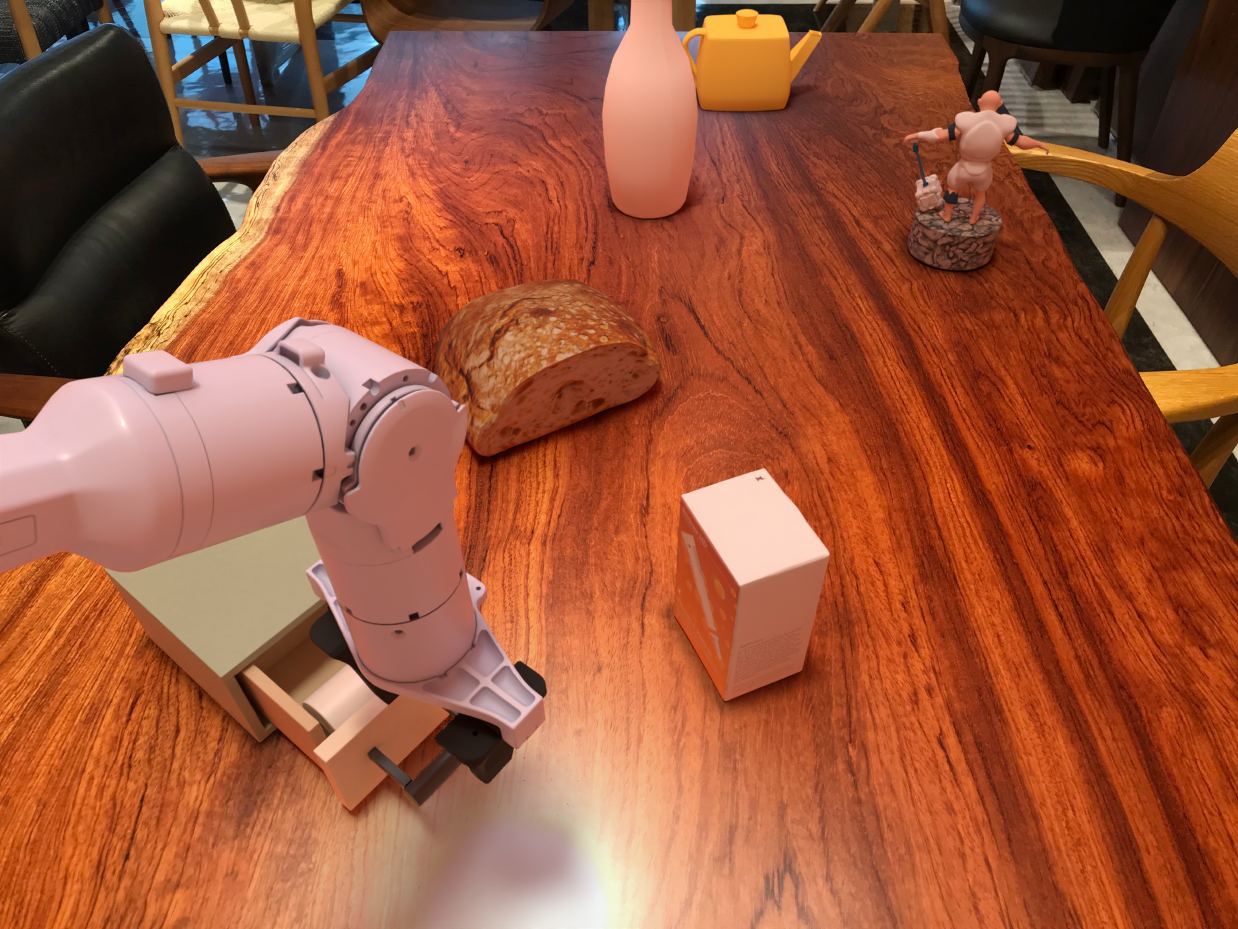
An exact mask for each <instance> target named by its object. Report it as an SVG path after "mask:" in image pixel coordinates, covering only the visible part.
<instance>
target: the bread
mask: <svg viewBox="0 0 1238 929" xmlns="http://www.w3.org/2000/svg"><path fill="white" fill-rule="evenodd" d="M661 369H662V363H661V360H660V357H659V354H658V353H657V351H656V348H655V346H654V343H653V341H652V338H651V336H650V335H649V333H647V331H646V330H645V328H644V326H643V325H642V323H641V322H640V321H638V320H637V319H636V318H635V317H634V316H632V314H631V313H630V312H628V311H627V310H626V309H624V308H623V307H622V306H621V305H619V304H618V303H617V302H616V301H615V300H613V299H612V298H610V297H609V296H607V295H606V294H604V293H603V292H601V291H600V290H598V289H597V288H595V287H594V286H592V285H590V284H587V283H585V282H582V281H580V280H577V279H571V278H552V279H551V278H549V279H548V278H547V279H537V280H533V281H528V282H524V283H521V284H518V285H514V286H510V287H505V288H502V289H498V290H495V291H492V292H489V293H486V294H484V295H480V296H478V297H476V298H475V299H472V300H470V301H468V302H467V303H466V304H464V305H463V306H461V307H460V308H459V309H458V310H456V311H455V312H454V313H453V315H452V316H451V317H450V318H449V320H448V321H447V322H446V323H445V324H444V325H443V327H442V328H441V329H440V332H439V335H438V340H437V343H436V348H435V359H434V369H433V371H434V372H433V373H434V374H436V375H438V376H439V377H440V378H441V379H442V381H443V382H444V383H445V384H446V386H447V388H448V390H449V392H450V395H451V399H452V400H453V401H455V402H457V403H459V407H460V406H461V405H463V404H464V405H466V406H467V413H468V423H467V432H466V437H465V440H466V441H467V443H468V444H469V445H470V447H471V448H472V449H473V451H474V452H475V453H477V454H478V455H480V456H483V457H491V456H494V455H497V454H499V453H501V452H504V451H506V450H509V449H511V448H514V447H516V446H518V445H522V444H524V443H525V444H526V443H528V442H530V441H532V440H535V439H538V438H540V437H542V436H545V435H547V434H550V433H552V432H554V431H555V432H556V431H558V430H561V429H562V428H565V427H568V426H570V425H572V424H575V423H577V422H578V423H579V422H580V421H582V420H585V419H587V418H590V417H592V416H593V415H596V414H598V413H600V412H604V411H606V410H608V409H612V408H615V407H618V406H621V405H624V404H626V403H629V402H631V401H635V400H636V399H638V398H639V397H641V396H642V395H644V394H646V392H648V391H649V390H650V389H651V388H652V387H653V386H654V385H655V383H656V382H657V380H658V377H659V376H660V372H661Z"/></svg>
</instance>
